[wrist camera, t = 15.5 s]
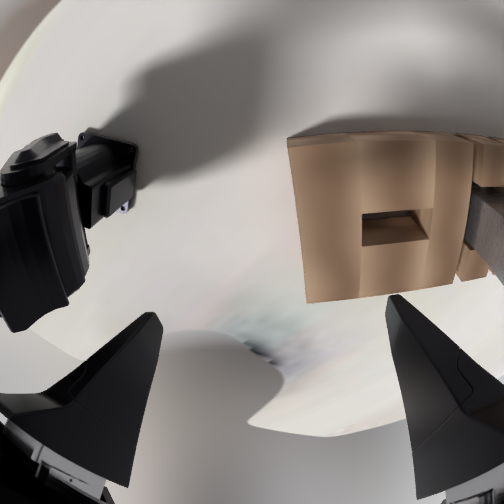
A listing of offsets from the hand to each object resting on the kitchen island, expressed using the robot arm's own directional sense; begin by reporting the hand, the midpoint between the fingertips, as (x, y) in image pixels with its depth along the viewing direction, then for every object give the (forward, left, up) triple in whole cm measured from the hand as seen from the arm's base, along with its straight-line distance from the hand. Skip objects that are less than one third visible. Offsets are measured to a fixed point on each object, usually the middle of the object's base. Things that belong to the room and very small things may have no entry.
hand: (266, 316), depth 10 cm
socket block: (+12, +5, -13) cm, 18 cm away
